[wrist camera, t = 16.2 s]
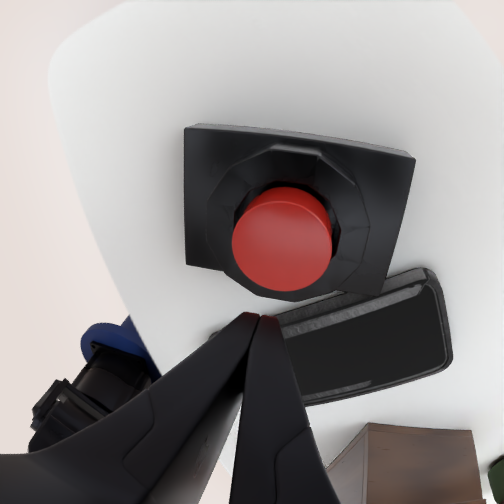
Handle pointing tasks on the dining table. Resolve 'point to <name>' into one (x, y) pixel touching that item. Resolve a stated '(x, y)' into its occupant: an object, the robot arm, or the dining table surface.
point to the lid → (474, 502)
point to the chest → (407, 467)
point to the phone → (369, 339)
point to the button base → (302, 177)
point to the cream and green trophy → (497, 481)
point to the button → (283, 239)
